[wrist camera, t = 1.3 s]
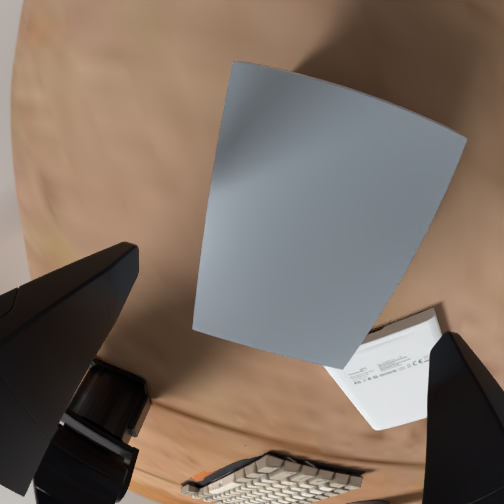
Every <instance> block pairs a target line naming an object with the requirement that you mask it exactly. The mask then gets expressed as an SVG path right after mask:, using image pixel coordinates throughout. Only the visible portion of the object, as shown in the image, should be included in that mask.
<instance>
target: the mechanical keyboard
mask: <svg viewBox="0 0 504 504" xmlns="http://www.w3.org/2000/svg"><path fill="white" fill-rule="evenodd" d="M245 446H246V445H245ZM361 472H362V473H361ZM363 473H365V471H358V470H353V469H348V468H343V467H338V466H333V465H328V464H324V463H319V462H314V461H308V460H297V459H294V458H291V457H289V456H278V454H270V453H266V454H264V455H263V456H259V457H254V458H250V459H243V460H240V461H237V462H234V463H232V464H230V465H227V466H226V467H223V468H221V469H219V470H217V471H214V472H212V473H211V472H205V471H204V472H200V473H199V474H197V475H195V476H193V477H191V478H190V479H188V480H186V481H184V482H183V483H181V485H182V486H183V487H181V494H183V495H191V494H192V497H193V498H197V499H201V498H203V500H204V501H206V502H213V501H214V503H215V504H308V503H312V501H313V502H316V501H319V500H321V499H326V498H329V496H336V495H339V493H345V492H349V490H355V489H357V488H360V487H361V483H362V479H363V477H362V476H360V475H361V474H363Z"/></svg>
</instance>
